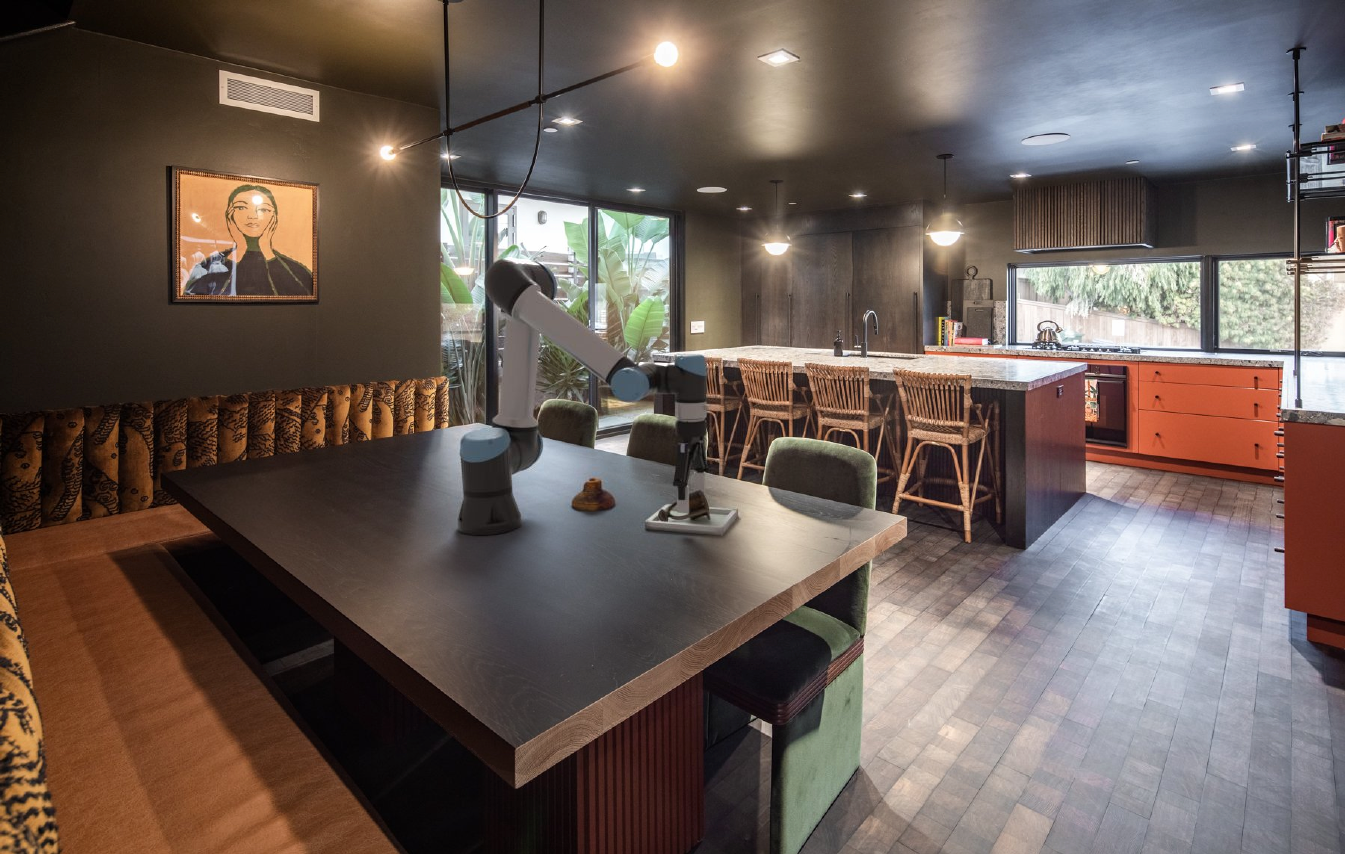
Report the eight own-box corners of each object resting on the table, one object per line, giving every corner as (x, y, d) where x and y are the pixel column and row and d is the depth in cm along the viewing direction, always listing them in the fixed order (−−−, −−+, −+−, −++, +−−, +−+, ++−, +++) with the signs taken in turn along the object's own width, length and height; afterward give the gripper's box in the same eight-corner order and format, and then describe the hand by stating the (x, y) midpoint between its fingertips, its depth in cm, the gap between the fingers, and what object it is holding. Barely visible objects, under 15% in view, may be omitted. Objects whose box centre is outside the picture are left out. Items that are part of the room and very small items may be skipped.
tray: (644, 528, 170) (644, 521, 170) (666, 510, 185) (666, 503, 185) (722, 535, 164) (721, 527, 164) (738, 516, 179) (738, 509, 179)
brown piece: (709, 505, 167) (715, 485, 176) (656, 498, 169) (664, 479, 178) (708, 531, 170) (713, 511, 179) (655, 525, 171) (663, 505, 181)
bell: (598, 513, 184) (597, 486, 183) (562, 507, 190) (561, 481, 189) (624, 503, 194) (623, 477, 193) (589, 497, 200) (588, 472, 199)
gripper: (690, 428, 158) (691, 520, 161) (719, 412, 181) (719, 493, 184) (658, 426, 160) (659, 517, 163) (691, 411, 183) (691, 491, 187)
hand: (691, 505), depth 174 cm, fingers open, 13 cm apart
